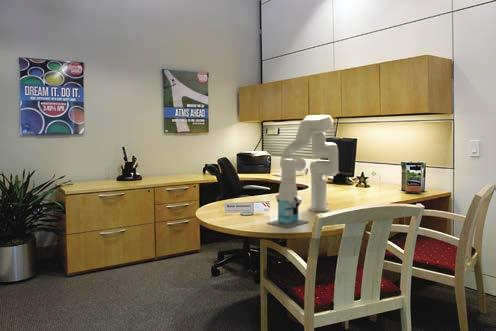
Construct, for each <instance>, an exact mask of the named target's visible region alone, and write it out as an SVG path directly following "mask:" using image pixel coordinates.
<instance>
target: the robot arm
mask: <svg viewBox="0 0 496 331" xmlns="http://www.w3.org/2000/svg"><path fill="white" fill-rule="evenodd" d="M333 124H334V122H333V118H332V117H331V115H328V114H326V115H325V114H319V115H317V114H315V115H307V116H305V117H304V119H302V120H301V121H300V123H299V127H298V129H297V132H296V135H295V138H294V140H293V141H292V142H291V143H289V144H287V146H286V147H285V148H284V149H283V151H282V154H281V157H280V161H279V167H280V168H281V178H280V182H281V183H280V185H279V187H278V188H279V189H278V194H277V195H275V199H276V202H277V203H279V201H287V202H288V203H292V204H293V206H294V207H293V215H295V214H298V215H299V207H300V205H301V204H302V201H303V199H302V198H301V197H299V196H298V188H297V183H296V181H297V179H296V178H297V177H296V176H297V174H296V173H297V172H303V171H304V170H305V168H306V166H307V162H306V160H305V158H303V157H297V156H296V157H295V156H292V155H293V154H294V153H296V152H299V151H301V150H303V149H306V148H308V147H309V145H310V142H311V154H312V156H313V157H314V158H319V159H314V160H312V161H310V164H309V170H310V171H309V172H310V176H311V177H310V180H311V181H310V182H311V184H310V187H311V188H310V206H308V210H309V211H312V212H326V211H329V207H328V206H329V205H330V202H329V201H327V188H328V187H327V185H328V184H327V180H326V177H325V176H327V177H328V176H330V177H331V176H333V177H335V176H336V175H337V174H338V173H339V148H338V145H337V144H336V143H335V142H327V141H326V140H327V138H326V132H327V131H329V130H330V129H331V128H332V127H333ZM327 159H328V160H327ZM297 200H298V203H297Z"/></svg>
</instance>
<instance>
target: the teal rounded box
mask: <svg viewBox="0 0 496 331" xmlns="http://www.w3.org/2000/svg"><path fill="white" fill-rule="evenodd" d="M277 203H278V202H277ZM297 203H298V200H297ZM293 207H294V206H293V204H292V203H288V202H287V201H279V203H278V204H277V220H278V222H279V223H282V224H288V223H292V222H296V221H297V220H298V219H299V213H298V214H295V215H293Z"/></svg>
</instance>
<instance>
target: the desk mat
mask: <svg viewBox="0 0 496 331" xmlns="http://www.w3.org/2000/svg"><path fill="white" fill-rule="evenodd" d="M304 224H305V225H306V224H309V220H308V221H307V220H304V219H299V218H298V220H297V221H296V222H292V223H288V224H282V223H279V222H278V219H277V220H274V221H269V222H267V225H271V226H275V227H280V228H284V229H291V228H295V227H298V226H302V225H304Z"/></svg>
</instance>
